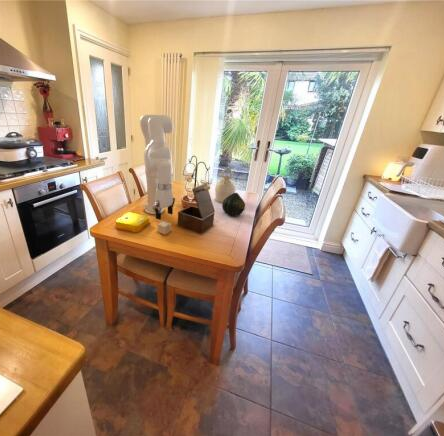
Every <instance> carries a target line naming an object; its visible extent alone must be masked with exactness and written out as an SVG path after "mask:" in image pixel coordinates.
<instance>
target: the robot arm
mask: <svg viewBox="0 0 444 436" xmlns="http://www.w3.org/2000/svg"><path fill="white" fill-rule="evenodd" d="M139 125H140V130H141V133H142V135H143V137H144V138H143V139H144V144H145V150H144V152H143V153H144V154H143V160H144V174H145V180H146V200H147V201H146V202H142V207H143V208H144V211H145V213H146V214H150V215H155V219H156V220H159V221H162V213H164V211H165V209H166V208H167V214H169V215H173V212H174V211H173V210H174V205H175V202H176V197H174V193H173V192H174V191H173V175H174V169H173V166H174V165H173V156H172V154H173V153H172V150H171V148H170V147H169V146H167V145H166V135H165V134H172V133H173V132H174V130H175V129H174V128H175V124H174V120H173V119H172V118H171V117H170V116H169V115H164V114H145V115H142V116H141V117H140V119H139Z"/></svg>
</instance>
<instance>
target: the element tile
mask: <svg viewBox="0 0 444 436" xmlns="http://www.w3.org/2000/svg"><path fill="white" fill-rule="evenodd" d="M149 220H150V216H149V215H145V214H141V213H134V212H130V211H129V212H126V213H125V214H123V215H121V217H119V218H117V219H116V220H115V228H116V229H118V230H124V231H127V232H130V233H131V232H132V233H140V232H141V231H142V230H143V229H145V227H146V226H147V225H149V223H150V221H149Z"/></svg>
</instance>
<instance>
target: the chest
mask: <svg viewBox="0 0 444 436" xmlns="http://www.w3.org/2000/svg"><path fill="white" fill-rule="evenodd" d="M214 220H215V212H214V213H212V214H210V215H209V216H207V217H205V218H204V219H201V216H200V213H199V209H198V206H195V205H189V206H187V207H185V208H183V209H181V210H179V211H178V212H177V226H178V227H181V228H184V229H186V230H189V231H192V232H194V233H196V234H200V235H202V234H203V233H205V232H206V231H207V230H209V229H211V228H212V227H213V226H214Z"/></svg>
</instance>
